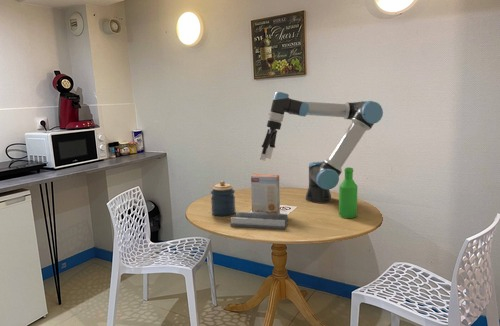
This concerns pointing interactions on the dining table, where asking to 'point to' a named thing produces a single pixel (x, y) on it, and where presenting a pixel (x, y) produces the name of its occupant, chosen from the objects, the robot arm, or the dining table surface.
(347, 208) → the bottle
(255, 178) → the cracker box
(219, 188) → the canister
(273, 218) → the grey long shallow tray
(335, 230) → the dining table surface
